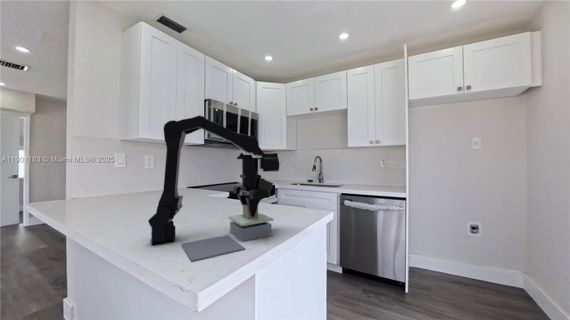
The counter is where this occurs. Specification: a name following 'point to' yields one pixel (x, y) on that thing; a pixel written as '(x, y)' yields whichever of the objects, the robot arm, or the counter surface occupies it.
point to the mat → (211, 247)
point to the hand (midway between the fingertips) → (250, 215)
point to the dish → (250, 231)
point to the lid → (249, 217)
